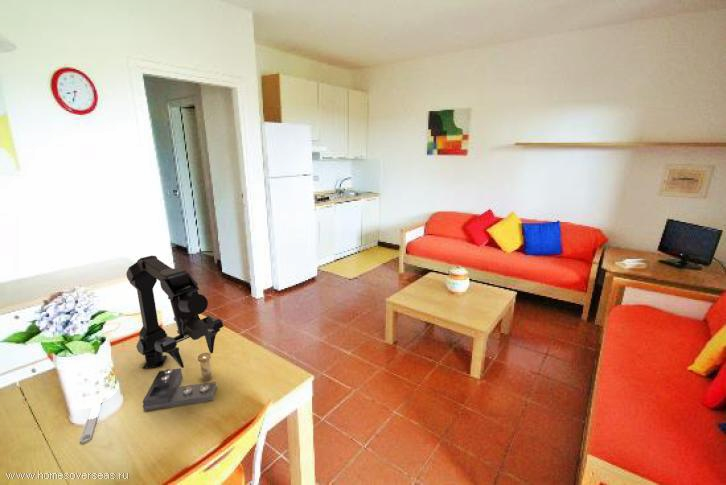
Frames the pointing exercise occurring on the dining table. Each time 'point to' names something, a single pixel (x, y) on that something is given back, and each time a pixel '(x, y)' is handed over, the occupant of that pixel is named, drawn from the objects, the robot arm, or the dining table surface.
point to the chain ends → (176, 391)
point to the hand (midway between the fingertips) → (197, 360)
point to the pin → (205, 366)
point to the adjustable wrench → (88, 430)
